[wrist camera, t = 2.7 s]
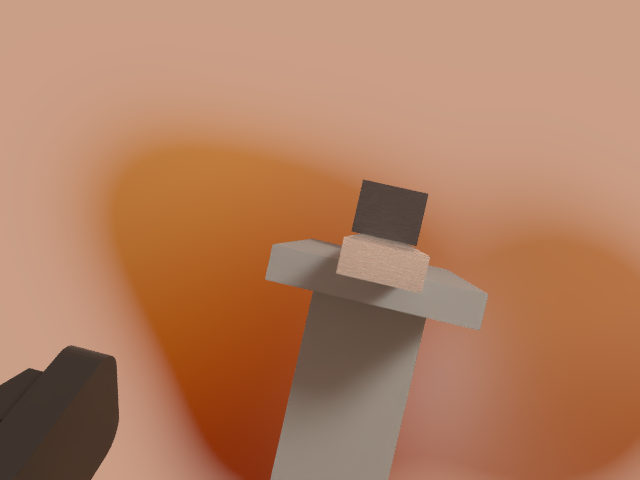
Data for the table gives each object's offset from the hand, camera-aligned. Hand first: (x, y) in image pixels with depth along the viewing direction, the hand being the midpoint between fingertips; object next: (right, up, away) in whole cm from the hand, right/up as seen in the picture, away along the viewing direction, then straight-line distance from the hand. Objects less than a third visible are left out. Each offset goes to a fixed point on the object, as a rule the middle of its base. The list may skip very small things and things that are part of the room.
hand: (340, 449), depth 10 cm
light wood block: (+3, +2, +28) cm, 29 cm away
